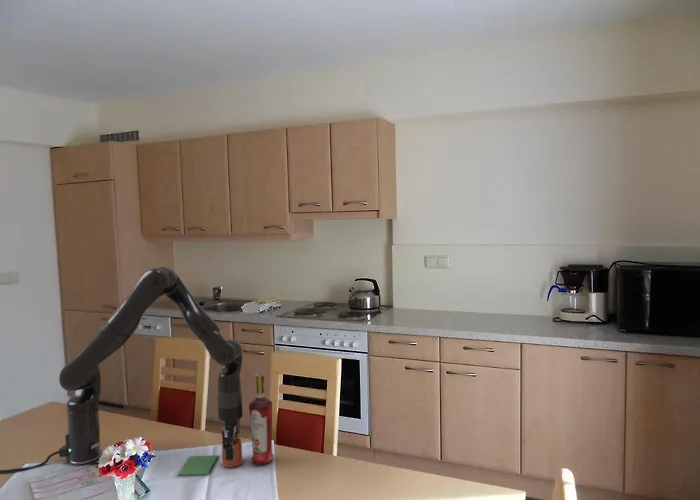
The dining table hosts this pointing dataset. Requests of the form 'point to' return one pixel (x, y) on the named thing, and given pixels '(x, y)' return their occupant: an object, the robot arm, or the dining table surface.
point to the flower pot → (236, 454)
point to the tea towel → (198, 465)
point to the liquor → (261, 424)
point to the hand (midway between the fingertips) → (232, 454)
